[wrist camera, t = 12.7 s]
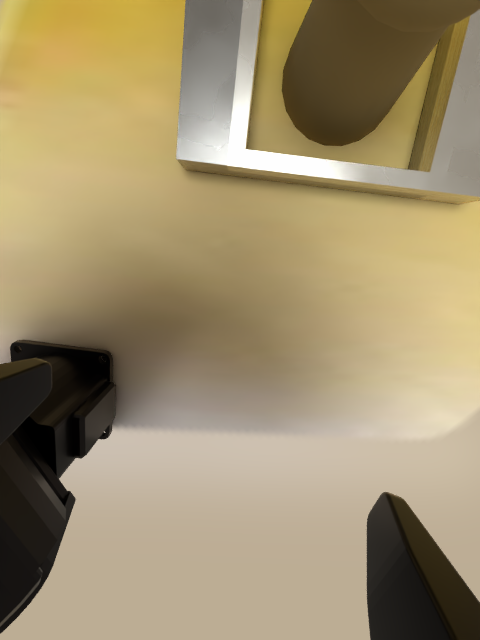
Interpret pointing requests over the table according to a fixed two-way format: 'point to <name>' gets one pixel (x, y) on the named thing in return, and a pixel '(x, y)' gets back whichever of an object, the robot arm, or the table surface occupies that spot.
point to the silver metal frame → (235, 160)
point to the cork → (360, 61)
